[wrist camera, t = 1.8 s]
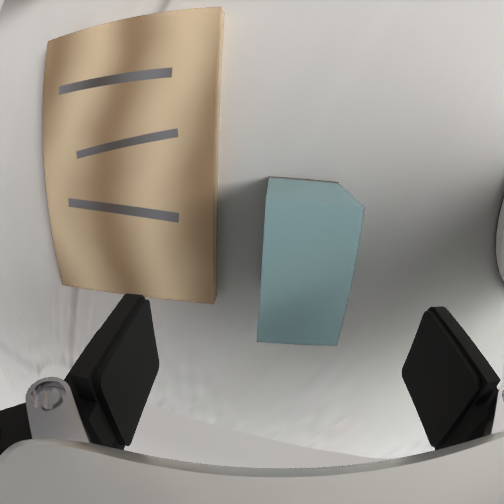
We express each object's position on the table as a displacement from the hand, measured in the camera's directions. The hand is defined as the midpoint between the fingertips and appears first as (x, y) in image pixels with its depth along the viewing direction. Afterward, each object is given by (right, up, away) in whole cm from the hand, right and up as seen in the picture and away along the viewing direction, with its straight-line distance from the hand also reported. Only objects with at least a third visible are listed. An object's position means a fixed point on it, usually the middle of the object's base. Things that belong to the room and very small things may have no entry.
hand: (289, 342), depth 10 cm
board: (-9, +9, +8) cm, 15 cm away
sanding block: (+2, +4, +9) cm, 10 cm away
